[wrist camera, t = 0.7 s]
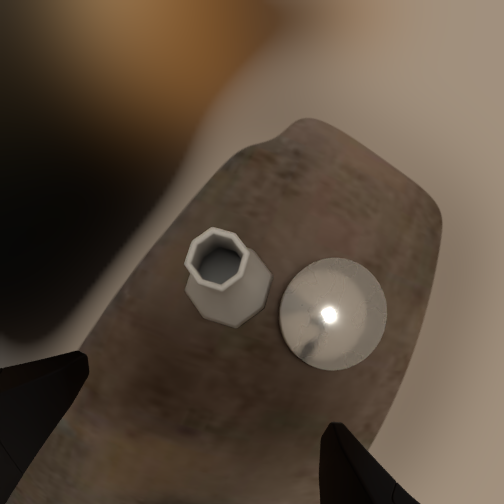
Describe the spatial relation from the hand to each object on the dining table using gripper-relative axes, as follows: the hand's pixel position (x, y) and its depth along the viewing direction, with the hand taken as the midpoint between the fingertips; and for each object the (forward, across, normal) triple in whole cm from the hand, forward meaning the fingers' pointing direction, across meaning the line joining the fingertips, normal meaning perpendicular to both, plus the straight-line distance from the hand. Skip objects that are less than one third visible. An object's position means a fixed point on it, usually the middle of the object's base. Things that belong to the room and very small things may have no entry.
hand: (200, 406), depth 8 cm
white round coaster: (+15, -8, +2) cm, 17 cm away
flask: (+16, +1, +1) cm, 16 cm away
